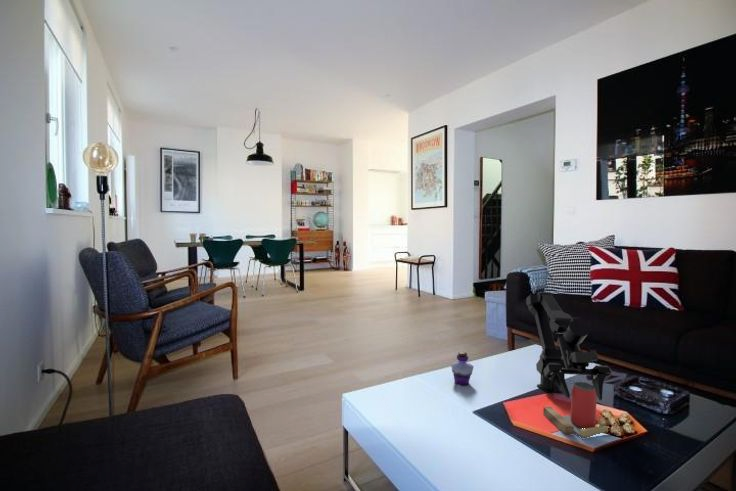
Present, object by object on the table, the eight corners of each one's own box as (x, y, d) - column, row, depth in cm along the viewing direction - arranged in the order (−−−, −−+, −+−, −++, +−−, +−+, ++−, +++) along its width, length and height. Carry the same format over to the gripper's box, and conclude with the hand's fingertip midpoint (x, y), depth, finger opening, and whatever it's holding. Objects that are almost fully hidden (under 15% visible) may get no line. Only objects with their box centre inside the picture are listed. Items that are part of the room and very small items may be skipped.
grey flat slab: (554, 419, 118) (554, 412, 118) (583, 415, 120) (583, 408, 120) (582, 439, 107) (582, 431, 107) (613, 434, 110) (613, 426, 110)
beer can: (600, 429, 111) (602, 389, 110) (580, 430, 110) (582, 391, 109) (584, 417, 118) (586, 380, 117) (565, 419, 117) (567, 381, 116)
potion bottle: (472, 379, 148) (473, 349, 147) (474, 388, 140) (475, 357, 139) (450, 377, 150) (450, 348, 149) (450, 386, 141) (451, 355, 140)
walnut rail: (543, 414, 121) (543, 406, 121) (550, 414, 121) (551, 406, 121) (565, 435, 109) (565, 426, 109) (573, 434, 109) (573, 426, 109)
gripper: (548, 338, 118) (561, 387, 108) (610, 340, 116) (629, 391, 106) (538, 353, 126) (549, 400, 116) (596, 356, 124) (613, 404, 114)
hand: (584, 399), depth 113 cm, fingers open, 9 cm apart
